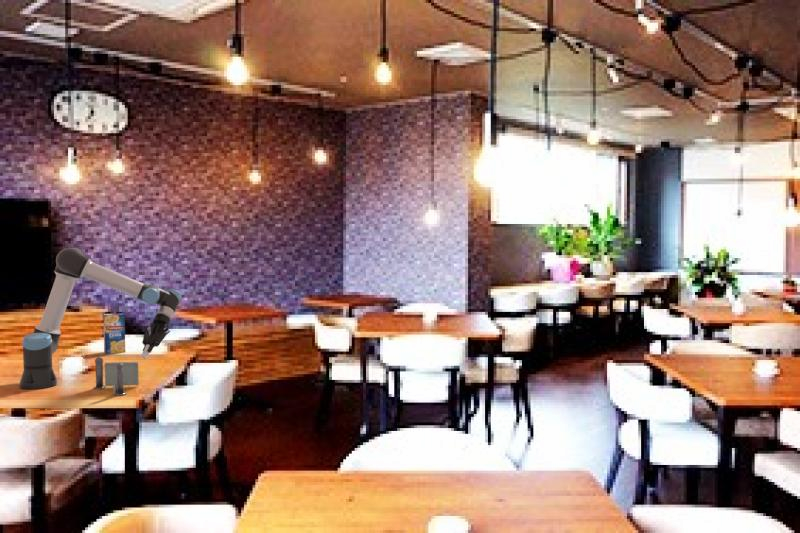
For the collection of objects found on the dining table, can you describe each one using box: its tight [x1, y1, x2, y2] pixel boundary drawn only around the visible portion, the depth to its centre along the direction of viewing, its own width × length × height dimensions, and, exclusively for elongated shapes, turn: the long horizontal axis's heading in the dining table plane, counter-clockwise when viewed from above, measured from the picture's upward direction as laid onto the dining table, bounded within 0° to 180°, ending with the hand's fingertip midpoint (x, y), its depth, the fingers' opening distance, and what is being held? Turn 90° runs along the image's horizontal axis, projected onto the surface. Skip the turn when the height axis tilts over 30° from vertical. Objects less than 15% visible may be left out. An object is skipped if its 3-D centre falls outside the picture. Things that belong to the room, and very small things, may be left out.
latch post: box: [112, 362, 128, 397], centre depth 305 cm, size 6×5×14 cm
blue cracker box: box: [102, 312, 126, 355], centre depth 410 cm, size 7×11×22 cm, turn 118°
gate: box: [104, 361, 140, 387], centre depth 318 cm, size 14×2×10 cm, turn 100°
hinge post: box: [93, 356, 107, 390], centre depth 316 cm, size 5×5×14 cm
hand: (143, 357), depth 329 cm, fingers closed
